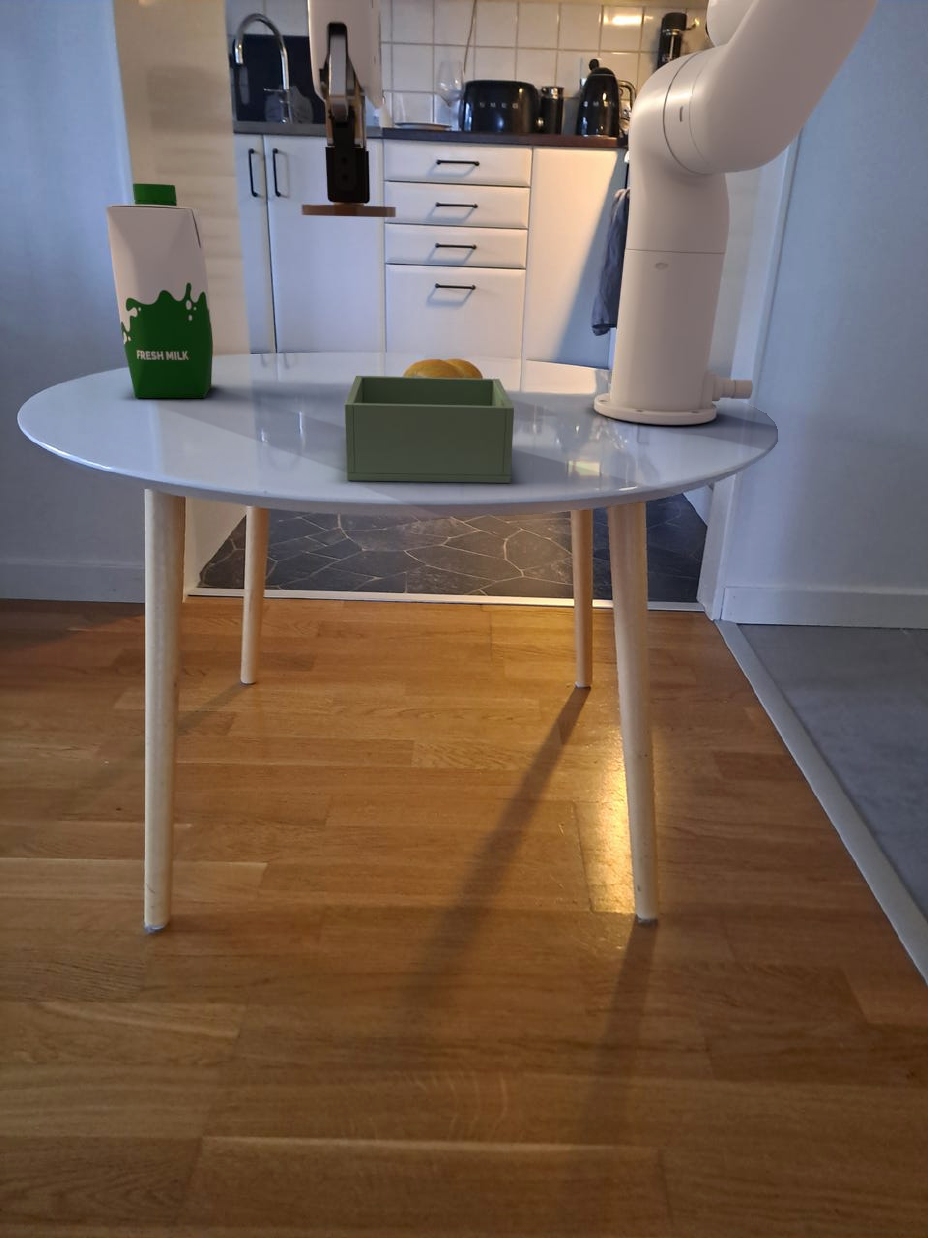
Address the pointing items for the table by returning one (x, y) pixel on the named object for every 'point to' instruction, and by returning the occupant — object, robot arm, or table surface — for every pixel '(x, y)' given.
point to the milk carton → (162, 293)
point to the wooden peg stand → (348, 209)
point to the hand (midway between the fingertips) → (349, 200)
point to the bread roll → (443, 369)
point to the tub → (428, 430)
